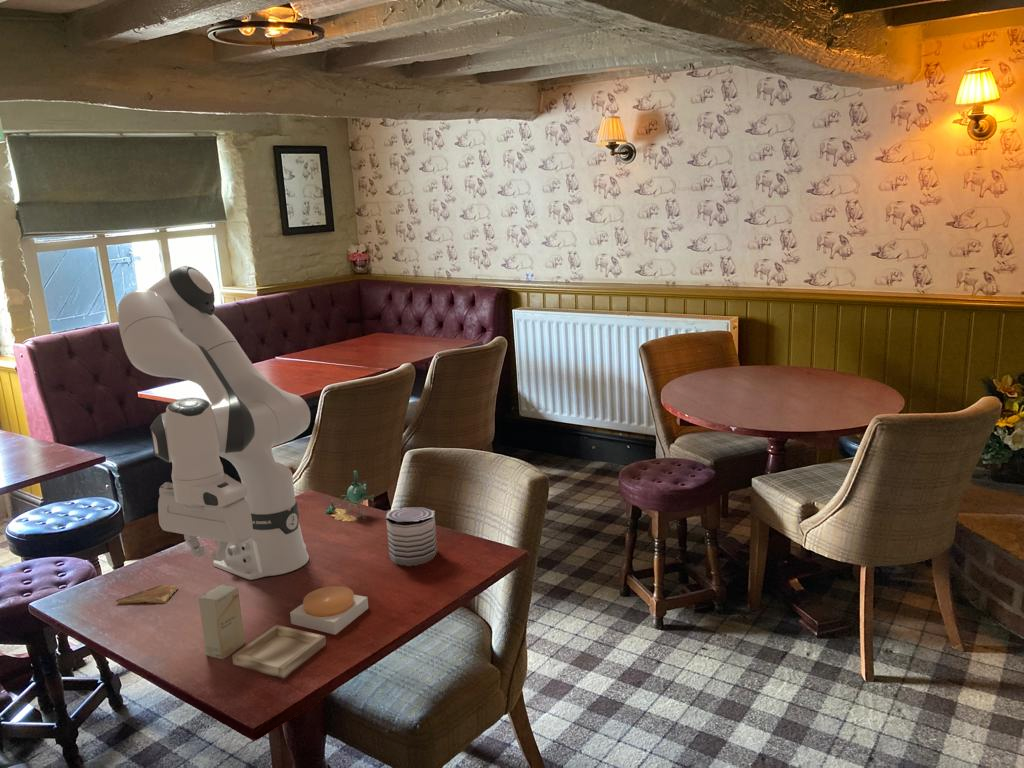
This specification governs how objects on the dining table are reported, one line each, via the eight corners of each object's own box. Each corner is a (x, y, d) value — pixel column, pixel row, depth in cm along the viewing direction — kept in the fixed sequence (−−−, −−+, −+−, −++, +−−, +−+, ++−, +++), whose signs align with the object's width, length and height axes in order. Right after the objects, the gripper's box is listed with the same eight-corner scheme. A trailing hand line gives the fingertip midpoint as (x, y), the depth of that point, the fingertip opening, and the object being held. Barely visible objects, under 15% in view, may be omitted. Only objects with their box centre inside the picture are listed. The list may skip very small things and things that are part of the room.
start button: (293, 611, 165) (292, 604, 164) (325, 589, 173) (324, 582, 173) (333, 620, 160) (332, 612, 160) (363, 597, 169) (363, 590, 169)
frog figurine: (339, 509, 227) (344, 459, 224) (390, 529, 219) (396, 477, 216) (315, 518, 219) (320, 466, 216) (367, 539, 211) (373, 485, 208)
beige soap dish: (233, 665, 152) (232, 655, 151) (277, 633, 162) (276, 624, 162) (283, 678, 147) (282, 668, 146) (326, 645, 157) (325, 636, 157)
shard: (116, 606, 176) (115, 599, 175) (133, 590, 183) (133, 583, 183) (165, 607, 175) (164, 599, 175) (181, 590, 183) (180, 583, 182)
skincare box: (223, 660, 153) (214, 601, 151) (205, 656, 155) (196, 597, 153) (246, 644, 159) (239, 586, 156) (229, 640, 161) (221, 582, 158)
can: (379, 562, 193) (375, 514, 190) (415, 546, 201) (411, 499, 199) (412, 574, 186) (408, 525, 183) (448, 557, 194) (444, 509, 191)
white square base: (291, 626, 165) (289, 612, 164) (326, 601, 175) (324, 588, 174) (335, 636, 160) (334, 622, 160) (368, 610, 170) (367, 597, 169)
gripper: (145, 486, 152) (155, 556, 155) (228, 499, 143) (237, 573, 146) (172, 475, 157) (181, 543, 160) (254, 488, 148) (262, 558, 151)
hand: (208, 557), depth 153 cm, fingers open, 4 cm apart
